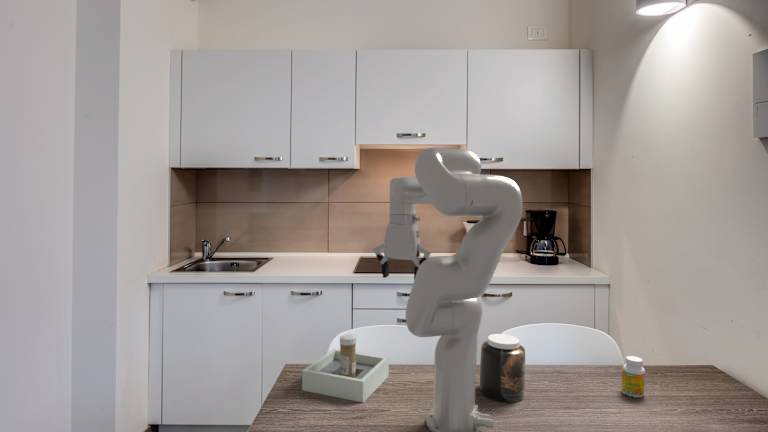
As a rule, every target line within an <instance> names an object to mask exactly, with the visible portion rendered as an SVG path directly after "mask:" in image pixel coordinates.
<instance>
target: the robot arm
mask: <svg viewBox="0 0 768 432" xmlns="http://www.w3.org/2000/svg"><path fill="white" fill-rule="evenodd" d="M414 165H415V166H414V173H415V176H400V177H393V178H392V179H391V180H390V181H389V219H388V221H389V223H388V224H387V225H386V229H385V236H384V239H383V240H384V243H382V244H381V245H378V246H376V247H374V248H373V252H374V254H375V257H376V259H377V260H378V261H379V263H380V264H381V274H382V278H384V279H385V278H388V277H389V276H390V263H389V261H390V260H391V259H393V260H406V261H412V262H413V263H414V265H415V267H414V269H413V270H414V272H413V275H414V276H413V278H414V279H413V280H414V281H413V283H412V287H411V291H410V294H409V296H408V300H407V303H406V308H405V324H406V327H407V329H408V331H409V332H410V333H411V334H412V335H413V336H415V337H418V338H432V337H439V338H438V340H437V342H436V346H435V349H434V363H433V364H434V367H433V369H434V370H433V406H432V407H433V410H432V411H431V412H429V413H428V415H427V416H426V421H425V423H426V426H427V428H428V429H429V431H431V432H481V430H482V427H485V428H489V429H494V425H495V420H494V419H493V418H491V414H488V413H481V412H480V411H479V405H478V404H476V384H477V383H476V380H477V377H476V375H477V351H478V350H477V349H478V339H479V333H480V328H481V326H482V325H481V324H482V319H483V306H482V303H481V301H480V299H479V298H480V297H482V296H483V295H484V294H485V293H486V291H487V289H488V288H489V286H490V283H491V281H492V278H493V277H494V274H495V271H496V269H497V268H498V267H497V266H498V265H499V263H500V260H501V257H502V255H503V253H504V251H505V249H506V247H507V246H508V244H509V243H510V241H511V239H512V238H513V236H514V235H515V232H516V231H517V229H518V227H519V224H520V222H521V218H522V215H523V196H522V192H521V189H520V187H519V184H518V183H516V182H515V181H514V180H513V179H511V178H509V177H506V176H504V175H498V174H484V173H482V174H481V172H482V163H481V160H480V158H479V156H478V155H477V154H475V153H474V152H473V151H471V150H468V149H465V148H449V147H428V148H426V149H423V150H422V151H421V152H420V153H419V155H418V156H417V158H416V161H415V163H414ZM416 205H433V207H434V208H435V209H436V210H437V211H438V212H439V213H440V214H442V215H444V216H449V217H482V218H480V220H478V222H476V223H475V224H473V226H471V228H470V229H469V230H468V231H467V232H466V233H465V235H464V236H463V238H462V240H461V244H460V247H459V249H458V251H457V252H456V253H454V254H452V255H442V256H441V255H440V256H439V255H438V256H437V255H436V256H432V257H430V256H431V255H432V253H431V251H430V250H429V249H427V248H425V247H423V246H422V245H421V239H420V236H421V235H420V229H419V225H417V224H416V223H417V222H420V220H421V218H420V216H417V215H416ZM381 250H383V254H382V253H381ZM421 254H423V257H422V258H420V257H421Z"/></svg>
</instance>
